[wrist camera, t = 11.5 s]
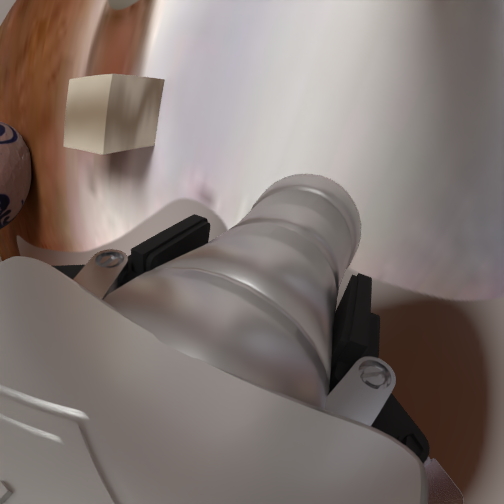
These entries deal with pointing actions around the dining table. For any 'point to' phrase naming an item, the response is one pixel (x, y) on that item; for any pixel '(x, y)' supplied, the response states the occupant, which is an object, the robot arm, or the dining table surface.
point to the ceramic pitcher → (13, 173)
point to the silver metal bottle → (258, 290)
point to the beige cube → (112, 112)
